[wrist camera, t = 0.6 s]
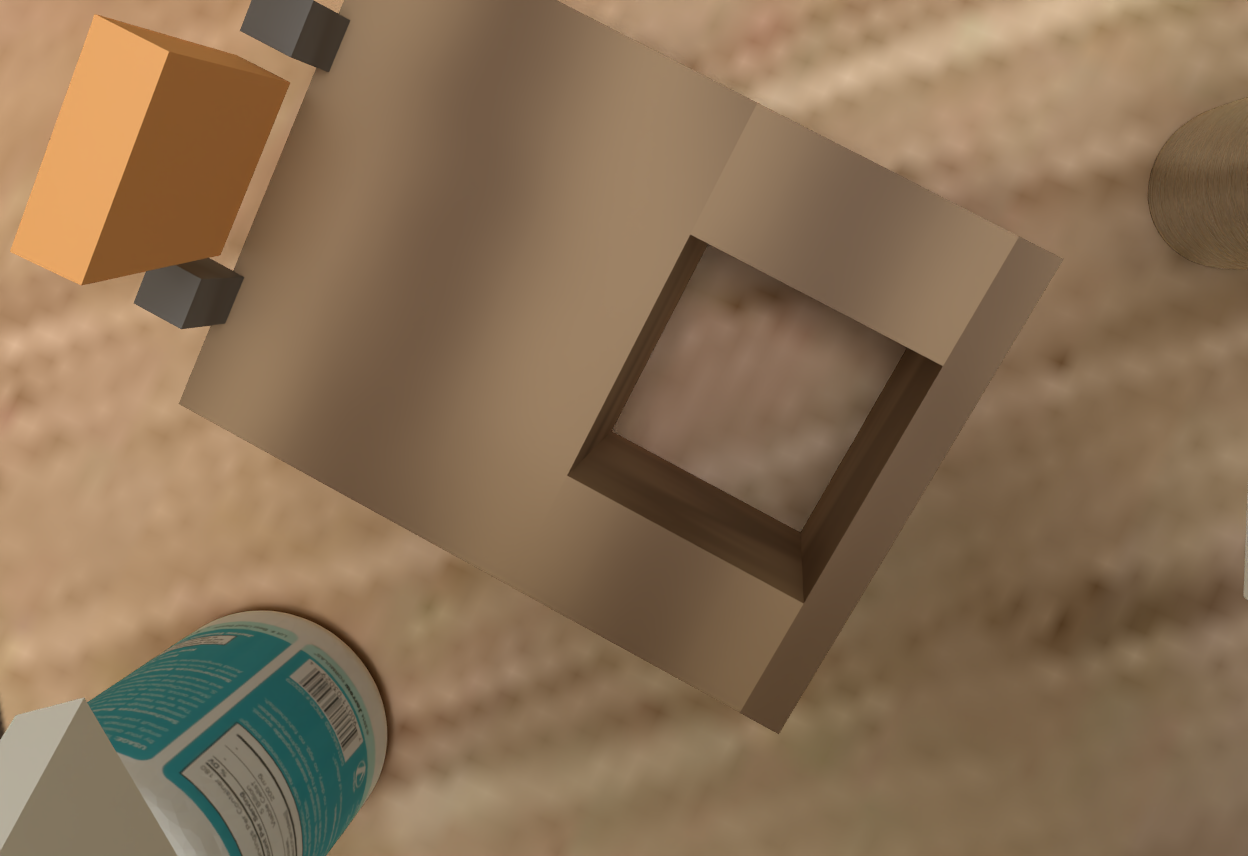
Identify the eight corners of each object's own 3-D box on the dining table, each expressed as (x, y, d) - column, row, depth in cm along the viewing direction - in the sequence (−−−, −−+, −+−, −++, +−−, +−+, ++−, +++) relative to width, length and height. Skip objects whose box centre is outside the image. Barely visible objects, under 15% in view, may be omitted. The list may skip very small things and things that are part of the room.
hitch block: (1004, 257, 27) (1088, 259, 19) (780, 638, 30) (778, 772, 22) (437, -33, 28) (305, -139, 20) (269, 360, 31) (97, 396, 23)
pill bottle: (141, 755, 34) (-277, 1080, 20) (221, 560, 32) (-177, 775, 19) (344, 867, 33) (50, 1273, 20) (435, 674, 31) (181, 977, 18)
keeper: (220, 255, 23) (168, 229, 23) (290, 82, 22) (236, 55, 22) (80, 285, 17) (10, 251, 17) (169, 51, 16) (94, 14, 16)
